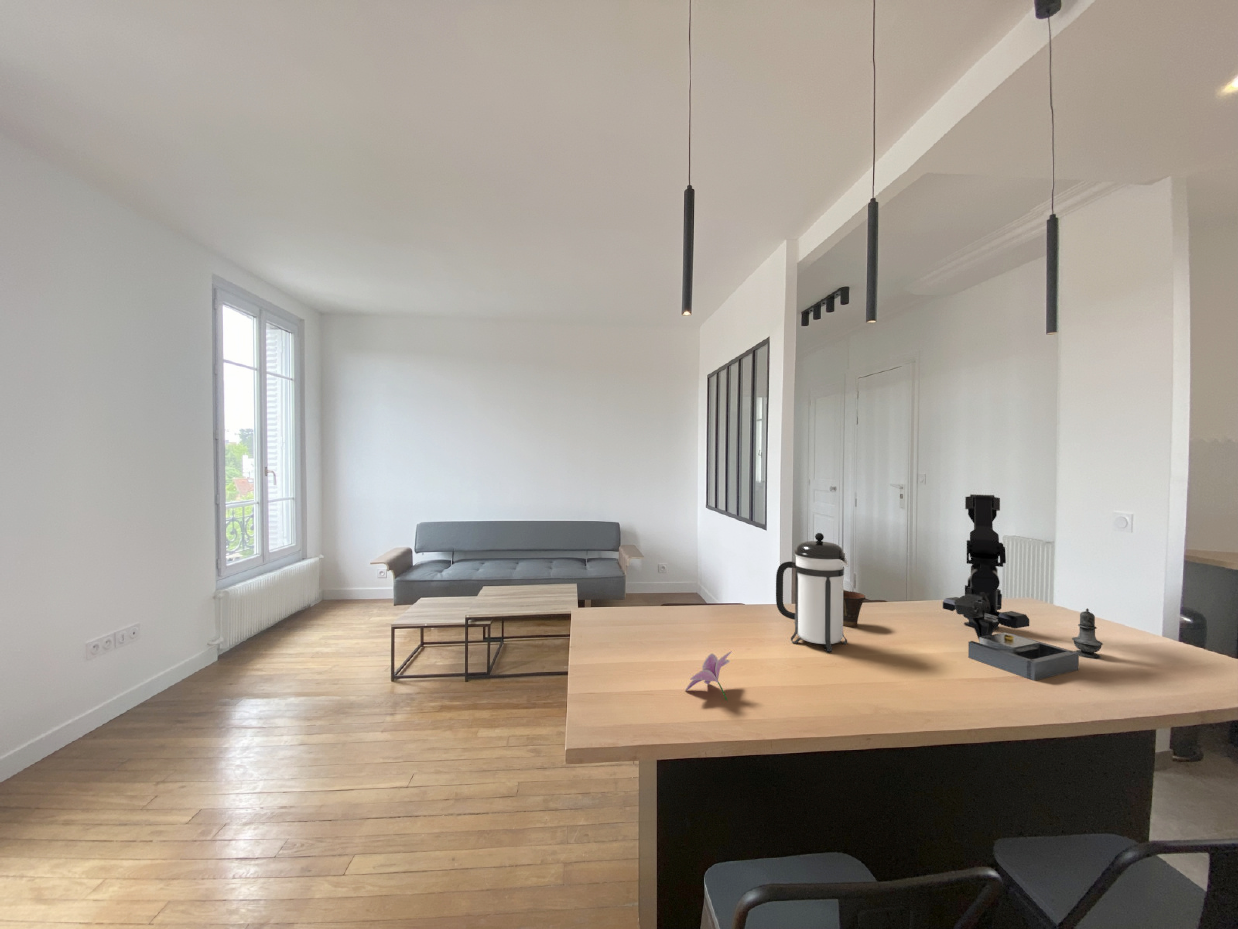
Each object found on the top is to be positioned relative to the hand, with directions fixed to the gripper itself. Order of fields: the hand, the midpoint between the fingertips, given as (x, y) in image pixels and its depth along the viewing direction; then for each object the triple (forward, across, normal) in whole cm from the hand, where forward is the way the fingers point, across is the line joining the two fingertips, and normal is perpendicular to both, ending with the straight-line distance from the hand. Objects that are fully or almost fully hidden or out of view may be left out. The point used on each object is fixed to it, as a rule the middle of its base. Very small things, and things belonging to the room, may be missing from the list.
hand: (983, 644), depth 133 cm
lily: (+2, -4, -80) cm, 80 cm away
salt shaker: (+2, +12, +22) cm, 25 cm away
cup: (+2, -29, -16) cm, 33 cm away
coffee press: (+2, -21, -37) cm, 43 cm away
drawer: (+2, +6, +1) cm, 6 cm away
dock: (+2, +9, 0) cm, 9 cm away
